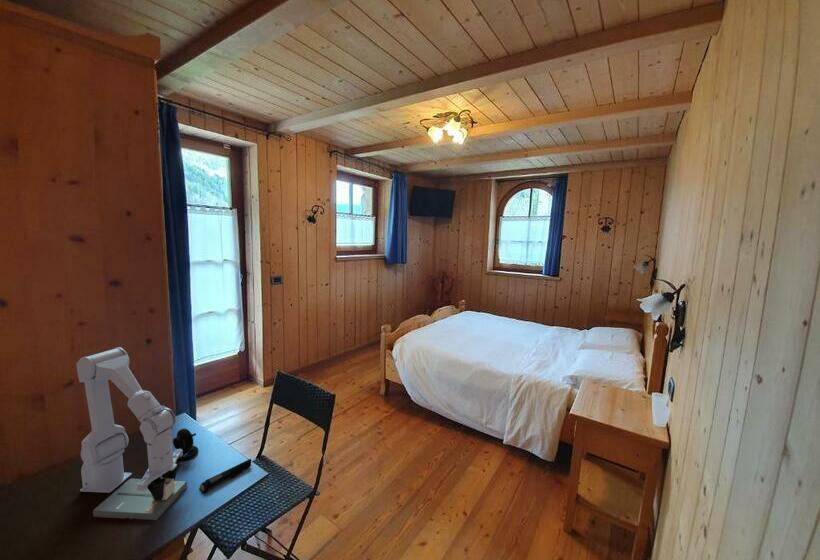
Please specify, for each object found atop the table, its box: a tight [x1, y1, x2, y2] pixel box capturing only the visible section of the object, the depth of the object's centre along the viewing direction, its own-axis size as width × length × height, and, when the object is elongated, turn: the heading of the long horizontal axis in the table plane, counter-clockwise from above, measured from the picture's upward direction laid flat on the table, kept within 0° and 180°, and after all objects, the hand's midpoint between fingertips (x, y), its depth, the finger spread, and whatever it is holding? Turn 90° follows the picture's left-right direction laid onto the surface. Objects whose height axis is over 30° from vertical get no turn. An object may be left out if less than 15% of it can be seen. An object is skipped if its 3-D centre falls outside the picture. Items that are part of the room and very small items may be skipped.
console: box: [92, 477, 188, 521], centre depth 97 cm, size 18×12×2 cm, turn 89°
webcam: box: [172, 428, 199, 463], centre depth 116 cm, size 8×8×10 cm
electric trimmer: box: [199, 458, 252, 495], centre depth 107 cm, size 4×16×3 cm, turn 141°
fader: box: [152, 478, 175, 500], centre depth 96 cm, size 4×4×4 cm
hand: (163, 493), depth 96 cm, fingers closed on fader, 3 cm apart
